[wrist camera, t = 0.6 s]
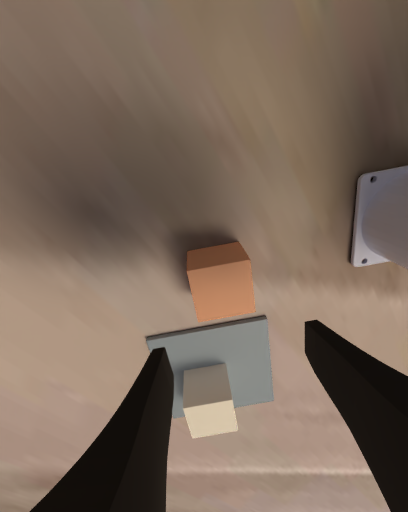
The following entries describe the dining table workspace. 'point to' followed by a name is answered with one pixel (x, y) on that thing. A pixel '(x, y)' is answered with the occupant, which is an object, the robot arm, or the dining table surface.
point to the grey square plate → (222, 358)
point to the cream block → (208, 401)
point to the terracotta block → (220, 281)
